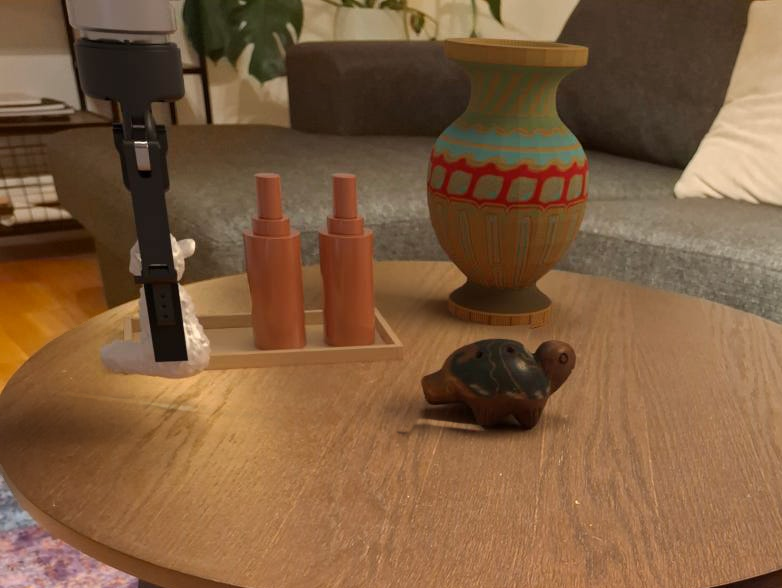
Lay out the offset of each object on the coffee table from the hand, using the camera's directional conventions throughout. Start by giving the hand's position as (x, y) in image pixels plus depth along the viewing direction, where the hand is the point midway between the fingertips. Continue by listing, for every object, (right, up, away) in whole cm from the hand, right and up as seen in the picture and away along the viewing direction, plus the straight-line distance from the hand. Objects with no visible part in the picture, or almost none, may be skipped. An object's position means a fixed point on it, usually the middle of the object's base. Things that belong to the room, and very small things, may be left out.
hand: (170, 344), depth 80 cm
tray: (+3, +7, +23) cm, 24 cm away
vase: (+30, +17, +39) cm, 52 cm away
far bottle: (+12, +9, +25) cm, 30 cm away
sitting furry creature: (0, -2, +2) cm, 3 cm away
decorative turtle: (+29, -4, +10) cm, 31 cm away
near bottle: (+5, +8, +23) cm, 25 cm away
